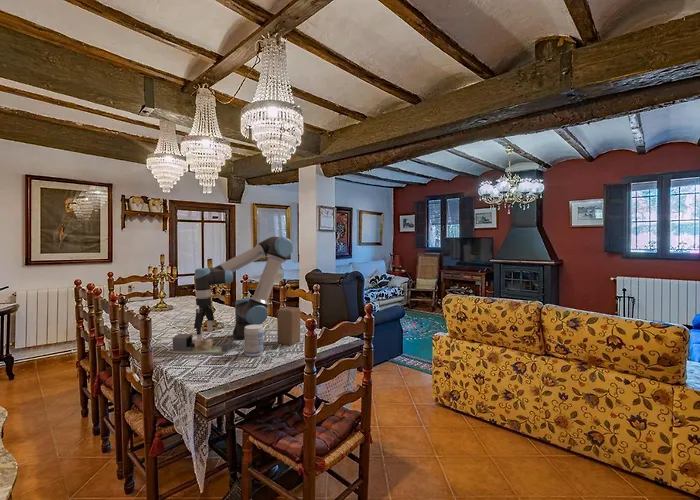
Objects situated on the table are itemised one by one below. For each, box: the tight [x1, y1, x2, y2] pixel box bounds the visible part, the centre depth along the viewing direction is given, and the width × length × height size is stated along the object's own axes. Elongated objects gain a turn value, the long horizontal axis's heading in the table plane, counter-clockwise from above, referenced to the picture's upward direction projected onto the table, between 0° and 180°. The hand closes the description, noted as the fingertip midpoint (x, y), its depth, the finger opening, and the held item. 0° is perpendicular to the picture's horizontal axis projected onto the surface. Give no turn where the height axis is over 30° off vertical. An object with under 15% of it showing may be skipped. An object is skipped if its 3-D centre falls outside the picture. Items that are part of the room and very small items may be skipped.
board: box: [171, 345, 228, 355], centre depth 194 cm, size 28×9×1 cm, turn 90°
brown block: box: [194, 338, 214, 350], centre depth 193 cm, size 8×4×5 cm, turn 90°
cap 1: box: [172, 333, 195, 351], centre depth 193 cm, size 10×8×7 cm
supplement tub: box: [243, 324, 264, 358], centre depth 189 cm, size 10×10×15 cm
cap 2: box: [221, 339, 233, 353], centre depth 193 cm, size 3×8×4 cm, turn 0°
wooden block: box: [276, 306, 301, 346], centre depth 209 cm, size 10×10×20 cm
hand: (205, 336), depth 194 cm, fingers open, 13 cm apart
